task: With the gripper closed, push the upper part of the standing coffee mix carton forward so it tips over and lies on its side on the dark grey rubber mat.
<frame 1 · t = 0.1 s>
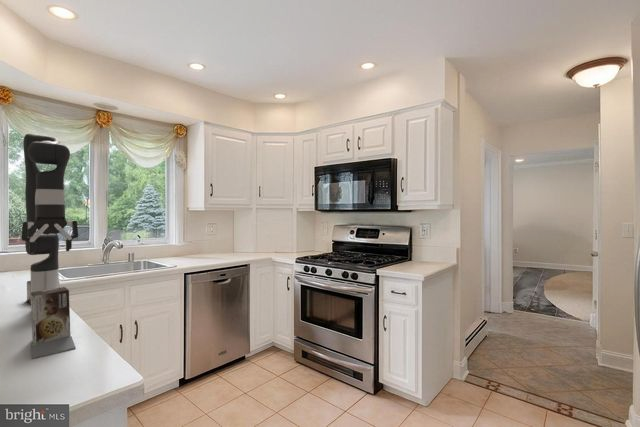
hand: (51, 252, 105), 29 cm above the counter, tool pointing down, fingers open, 8 cm apart
pepper mill: (43, 301, 151), on the counter
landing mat: (53, 347, 99), on the counter
coffee box: (51, 338, 107), on the counter
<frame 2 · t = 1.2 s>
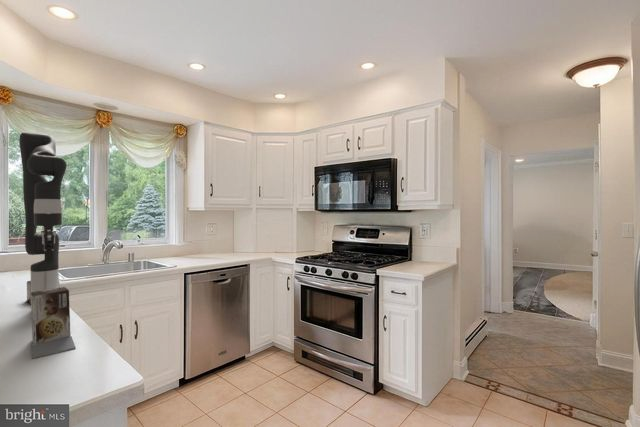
hand: (48, 261, 113), 25 cm above the counter, tool pointing down, fingers closed
nothing on the counter moved.
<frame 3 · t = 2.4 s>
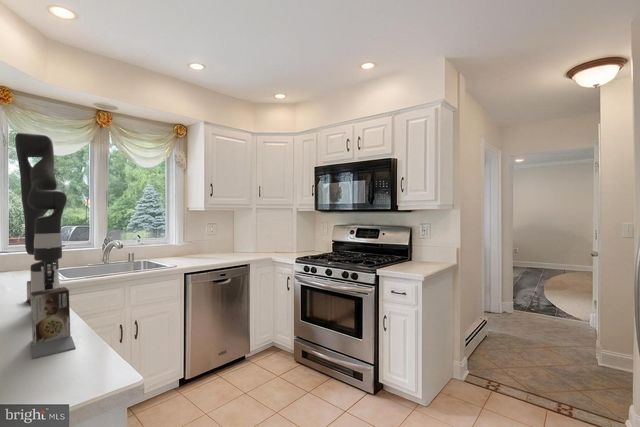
hand: (48, 294, 113), 13 cm above the counter, tool pointing down, fingers closed
nothing on the counter moved.
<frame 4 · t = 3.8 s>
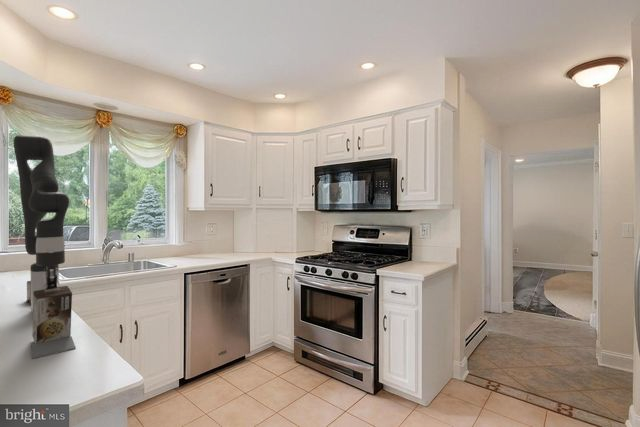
hand: (51, 300, 109), 12 cm above the counter, tool pointing down, fingers closed
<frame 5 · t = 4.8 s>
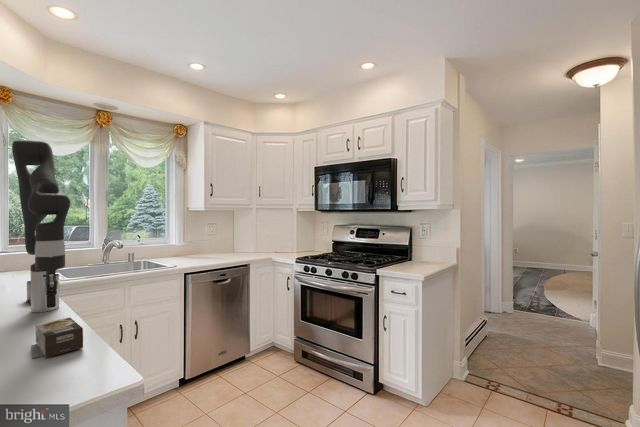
hand: (51, 307, 104), 11 cm above the counter, tool pointing down, fingers closed
coffee box: (53, 329, 105), point 4 cm above the counter, touching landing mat
everything else where it was.
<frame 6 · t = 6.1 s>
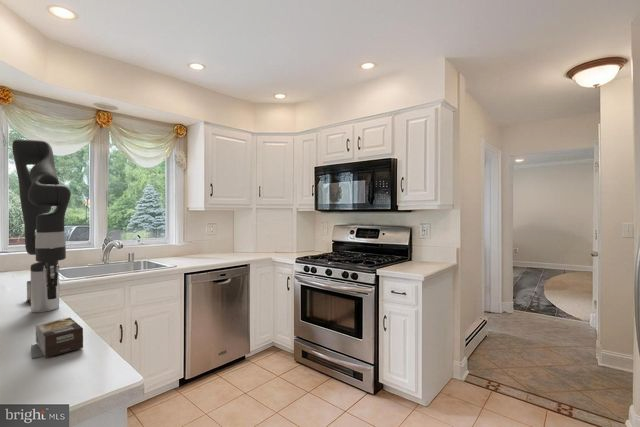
hand: (51, 298, 104), 14 cm above the counter, tool pointing down, fingers closed
nothing on the counter moved.
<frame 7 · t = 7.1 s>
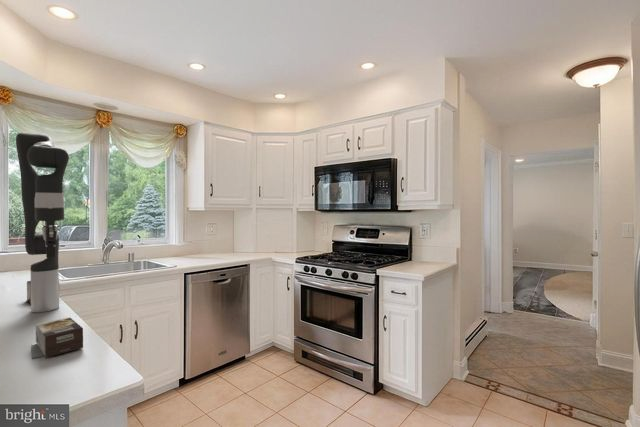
hand: (50, 257, 108), 27 cm above the counter, tool pointing down, fingers closed
nothing on the counter moved.
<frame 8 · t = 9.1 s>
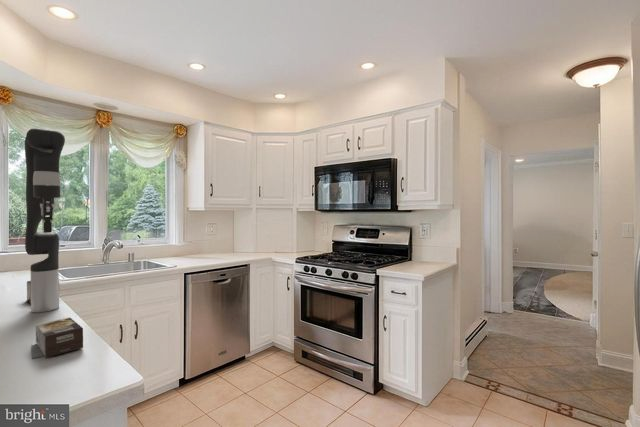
hand: (47, 232, 116), 35 cm above the counter, tool pointing down, fingers closed
nothing on the counter moved.
at the end: coffee box tilted 90°; coffee box touching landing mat; coffee box inside the target area (2.3 cm from its centre), point 3.6 cm above the counter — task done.
